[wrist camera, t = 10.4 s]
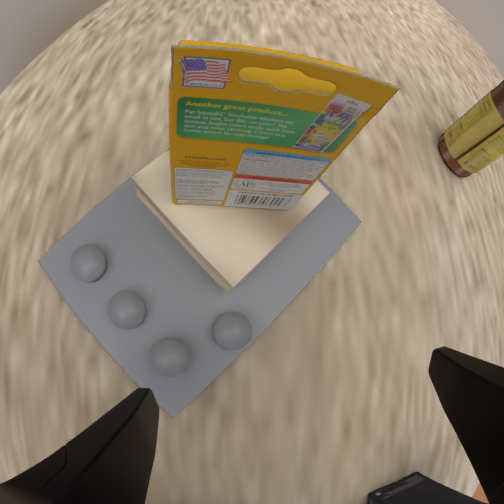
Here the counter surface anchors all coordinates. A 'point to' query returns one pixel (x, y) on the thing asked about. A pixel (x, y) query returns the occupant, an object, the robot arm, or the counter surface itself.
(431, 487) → the small box
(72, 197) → the counter surface
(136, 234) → the baseplate
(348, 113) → the crayon box
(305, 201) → the base brick
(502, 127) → the sauce bottle
